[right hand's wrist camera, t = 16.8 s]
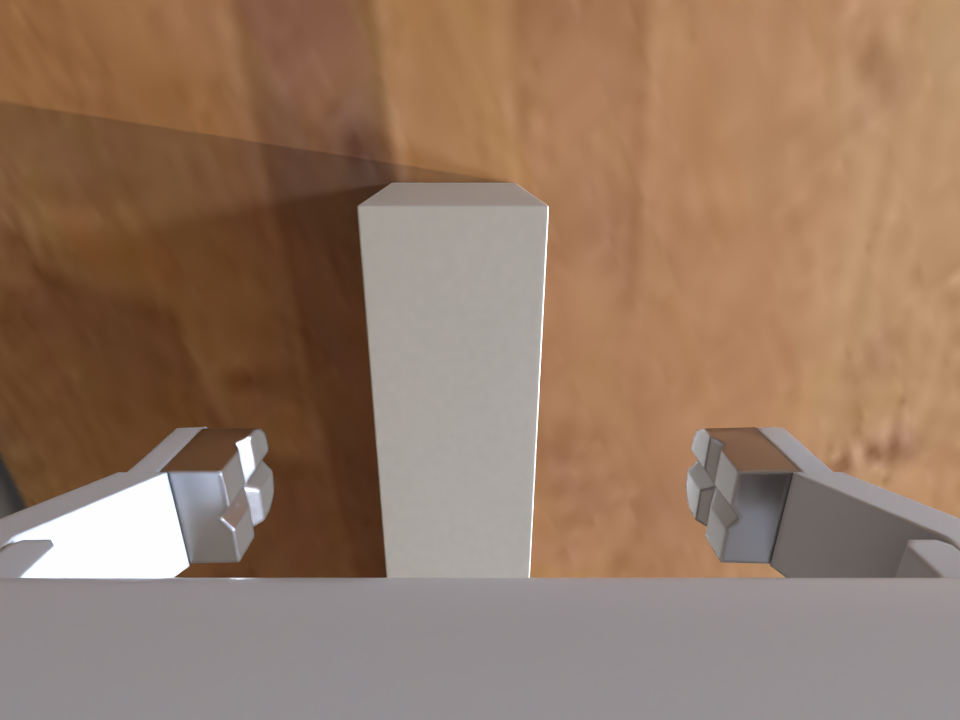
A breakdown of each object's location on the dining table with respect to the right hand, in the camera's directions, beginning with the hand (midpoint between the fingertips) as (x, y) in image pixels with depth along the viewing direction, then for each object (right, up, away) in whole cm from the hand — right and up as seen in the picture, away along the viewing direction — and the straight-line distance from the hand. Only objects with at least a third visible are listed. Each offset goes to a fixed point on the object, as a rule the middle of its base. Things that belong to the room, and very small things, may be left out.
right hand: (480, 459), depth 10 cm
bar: (-1, -3, +16) cm, 17 cm away
